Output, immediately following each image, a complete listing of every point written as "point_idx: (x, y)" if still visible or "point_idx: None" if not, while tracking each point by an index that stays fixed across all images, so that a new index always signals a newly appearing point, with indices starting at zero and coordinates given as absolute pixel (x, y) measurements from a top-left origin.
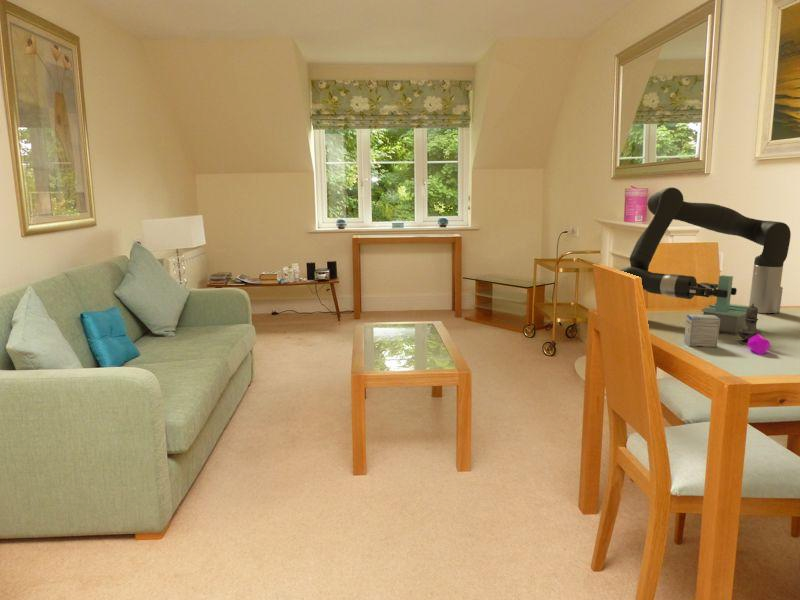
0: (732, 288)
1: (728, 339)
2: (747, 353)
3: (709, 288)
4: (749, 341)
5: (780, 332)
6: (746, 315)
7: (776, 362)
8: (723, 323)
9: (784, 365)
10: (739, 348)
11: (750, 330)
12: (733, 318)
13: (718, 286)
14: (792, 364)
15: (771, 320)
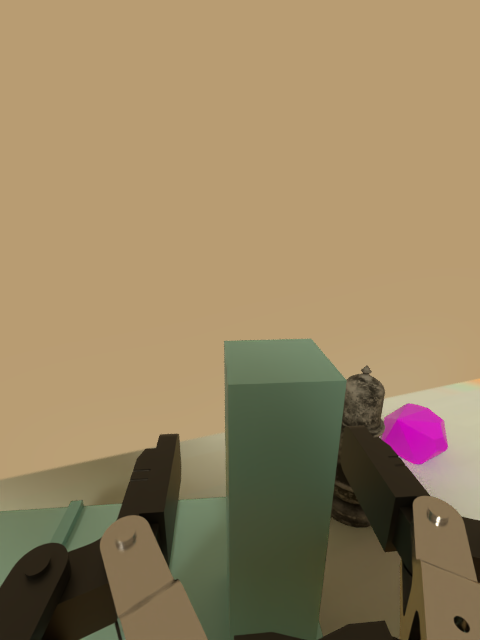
0: (176, 449)
1: (378, 569)
2: (458, 456)
3: (466, 542)
4: (444, 437)
5: (69, 492)
6: (379, 418)
7: (437, 407)
8: None
9: (437, 397)
10: (443, 487)
11: None
12: None
13: (333, 480)
14: (412, 393)
15: None
